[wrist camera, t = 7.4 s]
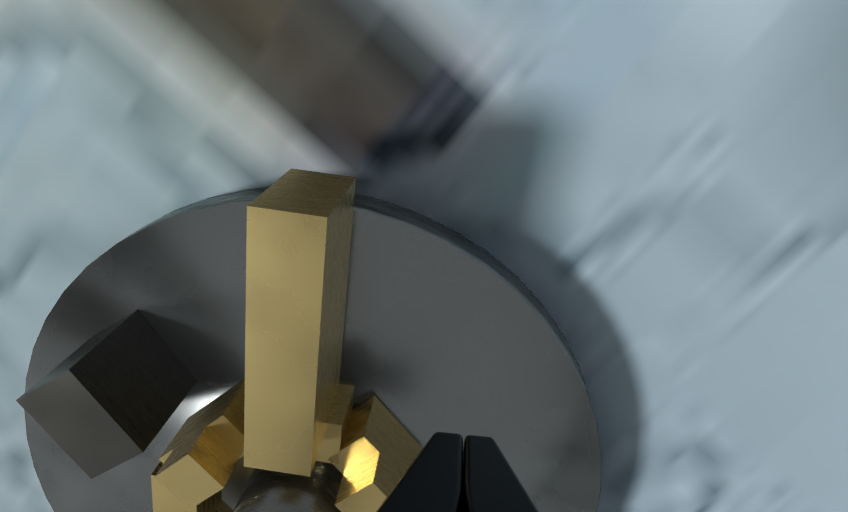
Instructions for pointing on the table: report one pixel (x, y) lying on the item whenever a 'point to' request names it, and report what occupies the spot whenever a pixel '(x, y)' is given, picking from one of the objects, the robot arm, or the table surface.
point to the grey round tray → (360, 366)
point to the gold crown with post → (290, 366)
